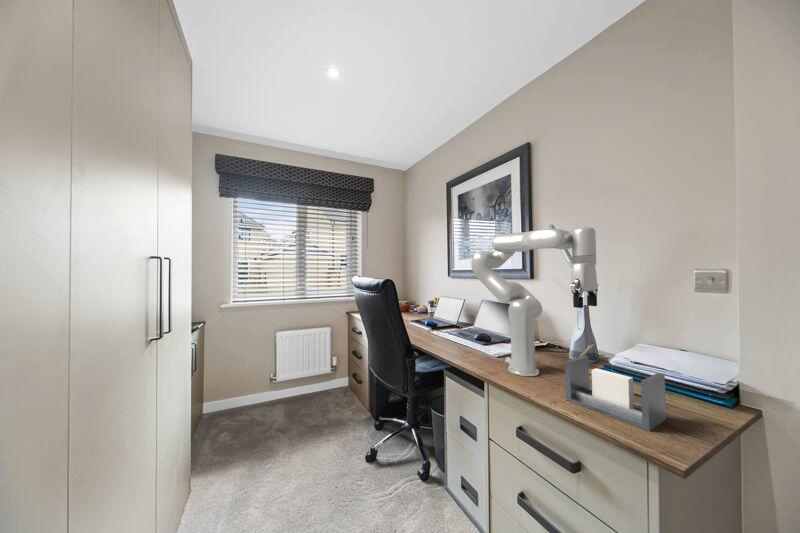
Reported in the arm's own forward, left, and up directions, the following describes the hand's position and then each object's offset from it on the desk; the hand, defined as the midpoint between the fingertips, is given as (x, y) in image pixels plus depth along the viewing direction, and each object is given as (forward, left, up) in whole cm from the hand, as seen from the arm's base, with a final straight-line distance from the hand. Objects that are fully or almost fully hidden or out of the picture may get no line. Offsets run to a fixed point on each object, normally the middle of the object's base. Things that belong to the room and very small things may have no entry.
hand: (585, 306), depth 104 cm
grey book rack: (+12, -10, -30) cm, 34 cm away
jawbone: (-8, +18, -31) cm, 37 cm away
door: (+12, -10, -29) cm, 33 cm away
